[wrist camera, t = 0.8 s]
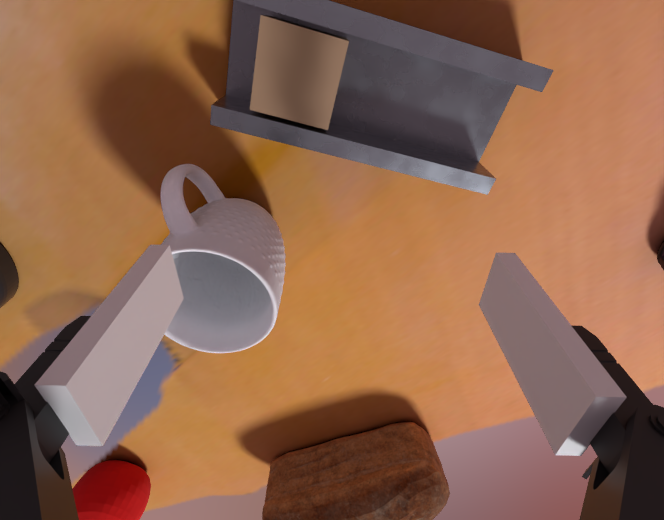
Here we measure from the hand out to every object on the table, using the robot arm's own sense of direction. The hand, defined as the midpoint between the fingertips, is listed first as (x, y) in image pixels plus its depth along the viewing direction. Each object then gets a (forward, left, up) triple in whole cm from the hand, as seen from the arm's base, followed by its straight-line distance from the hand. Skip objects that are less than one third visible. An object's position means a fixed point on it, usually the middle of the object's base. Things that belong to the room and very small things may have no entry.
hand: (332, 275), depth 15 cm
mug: (-8, -11, -23) cm, 26 cm away
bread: (+17, -53, -23) cm, 60 cm away
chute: (+2, +5, -22) cm, 23 cm away
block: (-4, +5, -22) cm, 23 cm away
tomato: (-23, -70, -23) cm, 77 cm away
